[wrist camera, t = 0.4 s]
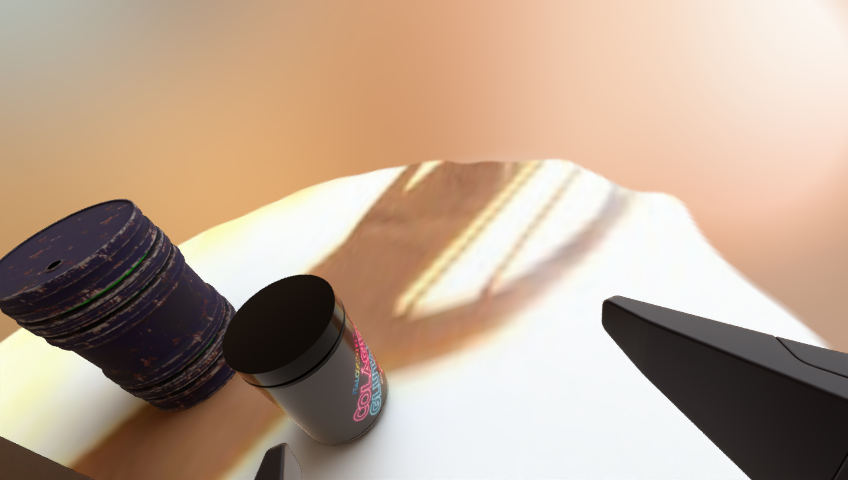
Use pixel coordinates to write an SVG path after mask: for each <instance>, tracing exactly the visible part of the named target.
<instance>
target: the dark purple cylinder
mask: <svg viewBox="0 0 848 480" xmlns="http://www.w3.org/2000/svg"><path fill="white" fill-rule="evenodd" d="M0 309H1V311H2V312H3V313H4V314H6V315H8V316H9V317H11V318H12V319H14V320H16V322H17V323H18V324H19V325H20V326H22V327H23V328H25V329H26V330H28V331H30V332H31V333H33V334H35V335H36V336H40V337H43V338H44V339H45V340H46V341H47V343H49V344H50V345H52V346H56V347H59V348H61V349H63V350H68V351H74V352H75V353H77V354H78V355H80V356H82V357H83V358H85V359H86V360H88V361H89V362H91V363H93V364H94V365H96V366H97V367H99V368H101V369H102V371H103V373H104V375H105V376H106V377H107V378H109V379H111V380H112V381H113V382H115V383H116V384H118V385H120V387H121V388H122V389H124V390H126V391H127V392H129V393H130V394H132V395H134V396H135V397H138V398H142V399H144V400H145V401H148V402H150V404H152V405H153V406H155V407H157V408H158V409H160V410H163V411H171V412H174V411H180V410H184V409H187V408H190V407H192V406H195V405H197V404H199V403H201V402H202V401H204V400H206V399H208V398H209V397H210V396H212V395H213V394H215V393H216V392H217V391H218V390H219V389H221V388H222V387H223V386H224V385H225V384H226V383H227V382H228V381H229V380H230V379H231V378H232V377H233V375H234V374H235V373H236V372H235V371H234V370H233V369H232V368H231V367H230V366H229V365H228V364H227V362H226V361H225V359H224V356H223V351H222V344H223V338H224V334H225V332H226V329H227V327H228V325H229V323H230V321H231V320H232V318H233V317H234V315H235V314H236V313H237V312H236V311H235V309H234V307H233V306H232V305H231V304H230V303H229V302H228V300H227V299H226V298H225V297H223V296H222V295H220V294H219V293H218V292H217V290H215V288H214V287H213V286H211V285H210V284H208V283H205V282H204V281H203V280H202V279H201V278H200V277H199V276H198V275H197V274H196V273H195V272H194V271H193V270H192V269H191V268H190V266H189V265H188V264H187V263H186V262H185V259H184V256H183V255H182V254H181V252H180V250H179V248H178V247H177V246H175V245H173V244H172V243H171V242H170V239H169V238H168V237H167V236H166V235H165V234H164V233H163V232H162V230H161V229H160V228H159V227H157V226H155V225H154V224H153V223H152V222H151V221H150V220H149V219H148V218H147V217H146V216H144V215H143V214H142V212H141V210H140V209H139V208H138V207H137V206H136V205H135V204H134V203H133V202H132V201H130V200H127V199H115V200H109V201H105V202H101V203H99V204H95V205H92V206H90V207H87V208H84V209H82V210H80V211H77V212H75V213H73V214H71V215H69V216H66V217H65V218H62V219H60V220H58V221H57V222H55V223H53V224H51V225H49V226H48V227H46V228H44V229H42V230H41V231H39V232H37V233H36V234H34V235H33V236H31V237H30V238H28V239H27V240H25V241H24V242H23V243H21V244H19V245H18V246H17V247H15V248H14V249H13V250H12V251H10V252H9V253H8V254H6V255H5V256H4V257H3V258H2V259H1V260H0Z"/></svg>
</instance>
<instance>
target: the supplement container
mask: <svg viewBox="0 0 848 480" xmlns="http://www.w3.org/2000/svg"><path fill="white" fill-rule="evenodd" d="M222 351H223V356H224V359H225V361H226V362H227V364H228V365H229V366H230V367H231V368H232V369H233V370H234V371H235V372H237V373H238V374H239V375H240V376H241V377H242V378H243V379H244V380H245V381H246V382H247V383H248V384H250V385H251V386H253V387H255V388H256V389H257V390H258V391H259V392H260V393H262V394H263V395H264V396H265V397H266V398H267V399H268V400H270V401H271V402H272V403H273V404H274V405H275V406H276V407H278V408H279V409H280V410H281V411H282V412H283V413H284V414H286V415H287V416H288V417H289V418H290V419H291V420H292V421H293V422H295V423H296V424H297V425H298V426H299V427H300V428H301V429H303V430H304V431H305V432H306V433H307V434H308V435H309V436H311V437H312V438H313V439H314V440H316V441H318V442H320V443H322V444H327V445H340V444H345V443H348V442H351V441H353V440H355V439H357V438H359V437H360V436H362V435H363V434H365V433H366V432H367V431H368V430H369V429H370V428H371V427H372V426H373V425H374V424H375V422H376V421H377V420H378V418H379V416H380V415H381V413H382V411H383V408H384V406H385V402H386V398H387V379H386V376H385V373H384V371H383V369H382V368H381V366H380V365H379V363H378V361H377V360H376V358H375V357H374V355H373V353H372V352H371V350H370V349H369V347H368V346H367V344H366V342H365V341H364V339H363V338H362V336H361V334H360V333H359V331H358V330H357V328H356V326H355V325H354V323H353V322H352V320H351V318H350V317H349V315H348V314H347V312H346V310H345V308H344V306H343V304H342V302H341V301H340V299H339V298H338V297H337V295H336V294H335V292H334V290H333V289H332V287H331V286H330V284H329V283H328V282H327V281H325V280H324V279H322V278H320V277H318V276H314V275H295V276H290V277H287V278H284V279H281V280H278V281H276V282H274V283H272V284H270V285H268V286H266V287H265V288H263V289H262V290H260V291H259V292H257V293H256V294H255V295H253V296H252V297H251V298H250V299H249V300H248V301H246V302H245V303H244V304H243V305H242V307H241V308H240V309H239V310H238V311H237V313H236V314H235V315H234V317H233V318H232V320H231V321H230V323H229V325H228V327H227V329H226V332H225V334H224V338H223V344H222Z"/></svg>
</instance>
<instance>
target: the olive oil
mask: <svg viewBox="0 0 848 480" xmlns="http://www.w3.org/2000/svg"><path fill="white" fill-rule="evenodd" d="M0 480H94V479H91V478H89V477H87V476H85V475H82V474H80V473H78V472H75V471H74V470H72V469H69V468H67V467H65V466H63V465H61V464H58V463H56V462H54V461H52V460H50V459H48V458H46V457H43V456H41V455H39V454H37V453H35V452H33V451H31V450H29V449H26V448H24V447H22V446H20V445H18V444H16V443H14V442H11V441H9V440H7V439H5V438H3V437H1V436H0Z"/></svg>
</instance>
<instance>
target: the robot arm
mask: <svg viewBox="0 0 848 480" xmlns="http://www.w3.org/2000/svg"><path fill="white" fill-rule="evenodd" d="M602 325H603V327H604V329H605V331H606V332H607V333H608V334H609V335H610V337H611V338H612V339H613V340H614V341H615V342H616V344H617V345H618V346H619V347H620V348H621V349H622V351H623V352H624V353H625V354H626V355H627V356H628V358H629V359H630V360H631V361H632V362H633V363H634V365H635V366H636V367H637V368H638V369H639V370H640V371H641V372H642V374H643V375H644V376H645V377H646V378H647V379H648V380H649V381H650V382H651V383H652V384H653V385H654V386H656V387H657V388H658V389H659V390H660V391H661V392H662V393H663V394H664V395H665V396H666V397H667V398H668V399H669V400H670V401H671V402H672V403H673V404H674V405H675V406H676V407H677V408H678V409H679V410H680V411H681V412H682V413H683V414H684V415H685V416H686V417H687V418H688V419H689V420H690V421H691V422H692V423H694V424H695V425H696V426H697V427H698V428H699V429H700V430H701V431H702V432H703V433H704V434H705V435H706V436H707V437H708V438H709V439H710V440H711V441H712V442H713V443H714V444H715V445H716V446H717V447H718V448H719V449H720V450H721V451H722V452H723V453H724V454H725V455H726V456H727V457H728V458H729V459H730V460H732V461H733V462H734V463H735V464H736V465H737V466H738V467H739V468H740V469H741V470H742V471H743V472H744V473H745V474H746V475H747V476H748V477H749V478H750V479H751V480H848V354H847V353H843V352H838V351H834V350H829V349H825V348H820V347H816V346H812V345H808V344H804V343H800V342H796V341H792V340H788V339H784V338H781V337H774V336H772V335H769V334H765V333H761V332H757V331H753V330H749V329H746V328H742V327H738V326H734V325H730V324H726V323H722V322H719V321H715V320H711V319H707V318H703V317H699V316H695V315H692V314H688V313H684V312H680V311H676V310H672V309H668V308H665V307H661V306H657V305H653V304H649V303H645V302H641V301H638V300H634V299H630V298H626V297H622V296H613V297H611V298H608V299H606V300H604V302H603V304H602ZM254 480H302V474H301V469H300V466H299V463H298V461H297V459H296V458H295V456H294V454H293V453H292V451H291V449H290V448H289V446H288V445H287V444H286V443H282V444H279V445H277V446H275V447H273V448H270V449H269V450H268V451H267V452H266V454H265V456H264V458H263V461H262V463H261V465H260V468H259V470H258V472H257V474H256V477H255V479H254Z"/></svg>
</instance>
